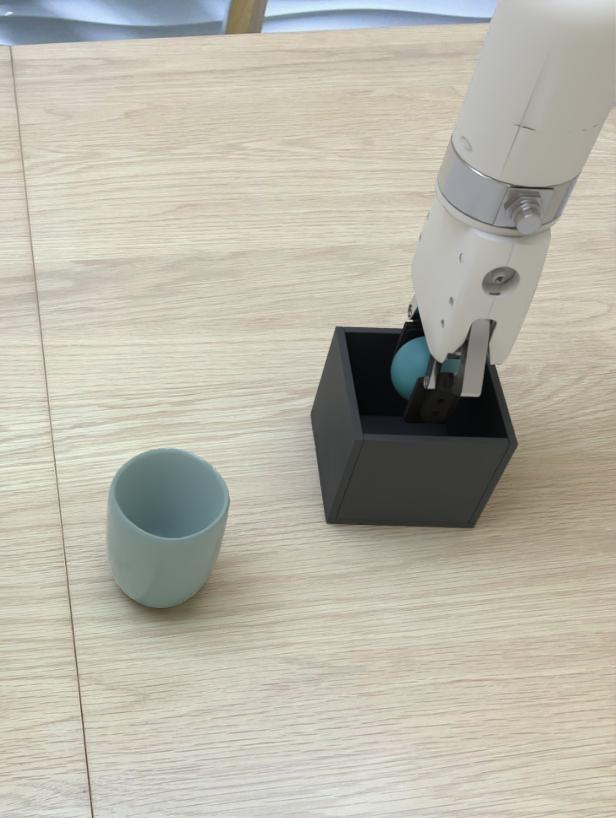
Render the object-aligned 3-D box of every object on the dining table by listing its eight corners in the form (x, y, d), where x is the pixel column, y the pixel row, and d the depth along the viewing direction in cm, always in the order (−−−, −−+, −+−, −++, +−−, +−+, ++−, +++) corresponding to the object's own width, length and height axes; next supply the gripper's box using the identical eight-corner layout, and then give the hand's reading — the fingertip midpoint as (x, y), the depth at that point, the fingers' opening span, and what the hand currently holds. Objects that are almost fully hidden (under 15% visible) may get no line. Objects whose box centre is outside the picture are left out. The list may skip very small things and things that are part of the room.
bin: (447, 417, 89) (485, 330, 81) (474, 528, 82) (518, 444, 75) (310, 413, 89) (335, 325, 81) (325, 523, 82) (355, 439, 75)
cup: (81, 571, 79) (85, 485, 71) (160, 517, 82) (172, 429, 74) (153, 643, 76) (166, 561, 68) (232, 584, 79) (254, 499, 71)
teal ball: (443, 371, 80) (464, 322, 76) (455, 420, 77) (478, 372, 74) (378, 369, 80) (396, 320, 76) (388, 418, 77) (406, 369, 74)
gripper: (608, 274, 59) (494, 485, 74) (537, 95, 69) (449, 313, 84) (470, 269, 59) (384, 482, 74) (418, 91, 69) (351, 310, 84)
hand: (419, 390), depth 79 cm, fingers closed on teal ball, 4 cm apart
